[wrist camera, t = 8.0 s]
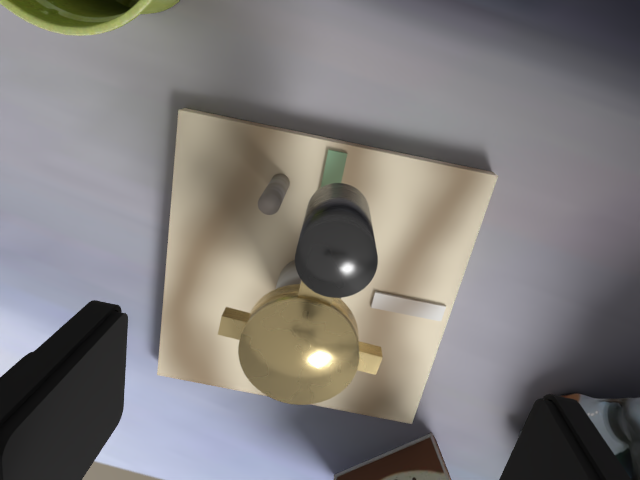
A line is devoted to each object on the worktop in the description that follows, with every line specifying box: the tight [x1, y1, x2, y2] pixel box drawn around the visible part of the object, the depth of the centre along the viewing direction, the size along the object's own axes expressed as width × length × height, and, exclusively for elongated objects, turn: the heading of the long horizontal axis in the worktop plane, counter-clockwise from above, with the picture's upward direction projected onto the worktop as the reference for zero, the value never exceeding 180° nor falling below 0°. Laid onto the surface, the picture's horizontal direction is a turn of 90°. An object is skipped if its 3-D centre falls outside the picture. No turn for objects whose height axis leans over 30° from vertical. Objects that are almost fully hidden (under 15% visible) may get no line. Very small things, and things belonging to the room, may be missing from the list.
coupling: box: [218, 183, 383, 405], centre depth 22 cm, size 12×9×6 cm
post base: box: [157, 108, 498, 424], centre depth 29 cm, size 20×20×7 cm
